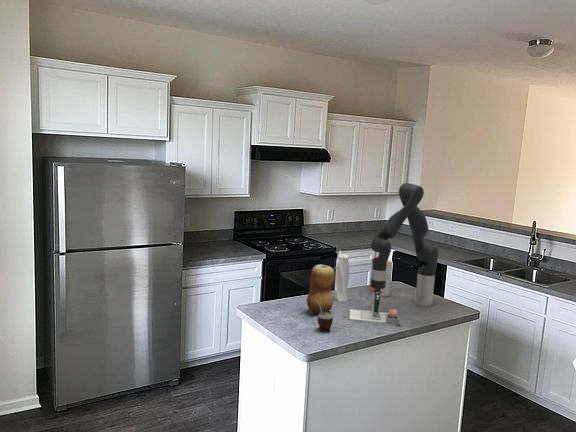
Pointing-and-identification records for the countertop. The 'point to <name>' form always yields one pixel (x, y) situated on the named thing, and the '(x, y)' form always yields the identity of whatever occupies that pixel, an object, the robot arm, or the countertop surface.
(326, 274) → the butternut squash
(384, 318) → the white flat board
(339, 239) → the countertop surface
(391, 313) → the button
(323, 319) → the mate gourd
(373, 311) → the marker
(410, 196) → the robot arm
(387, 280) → the cracker box
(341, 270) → the skyscraper
